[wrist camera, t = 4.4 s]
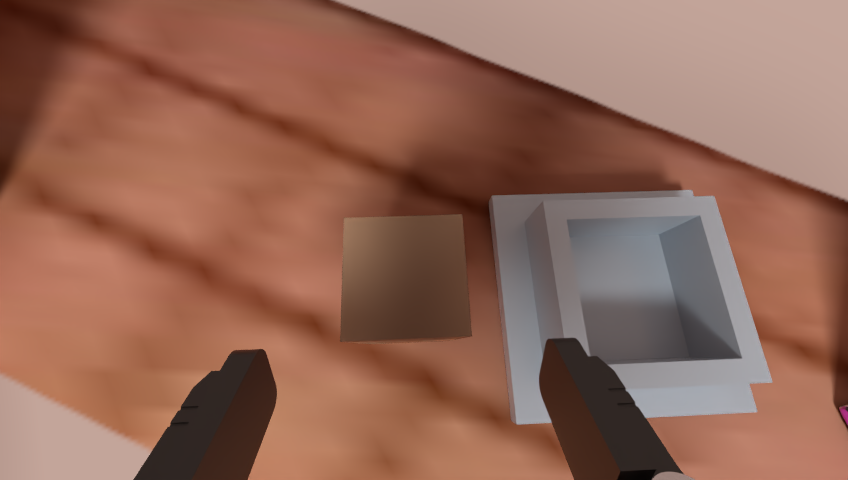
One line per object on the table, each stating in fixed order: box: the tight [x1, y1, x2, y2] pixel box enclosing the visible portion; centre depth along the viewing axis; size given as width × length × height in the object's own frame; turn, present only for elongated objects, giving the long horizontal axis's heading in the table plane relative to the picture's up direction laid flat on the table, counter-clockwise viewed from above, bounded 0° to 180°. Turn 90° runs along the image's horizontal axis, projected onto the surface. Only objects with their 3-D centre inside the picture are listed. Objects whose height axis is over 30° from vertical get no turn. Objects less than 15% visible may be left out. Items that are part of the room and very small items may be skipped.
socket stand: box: [489, 190, 772, 424], centre depth 18 cm, size 12×12×4 cm
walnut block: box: [340, 214, 472, 344], centre depth 15 cm, size 4×4×8 cm
